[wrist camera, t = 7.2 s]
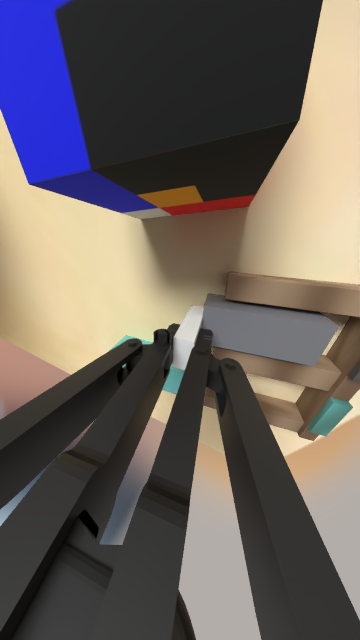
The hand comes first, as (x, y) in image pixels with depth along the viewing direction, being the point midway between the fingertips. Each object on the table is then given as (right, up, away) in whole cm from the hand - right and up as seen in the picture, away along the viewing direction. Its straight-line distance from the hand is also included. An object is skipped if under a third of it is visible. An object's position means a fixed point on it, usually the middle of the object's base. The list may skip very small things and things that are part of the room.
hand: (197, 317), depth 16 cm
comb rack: (+9, -4, +1) cm, 10 cm away
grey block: (+6, 0, 0) cm, 6 cm away
